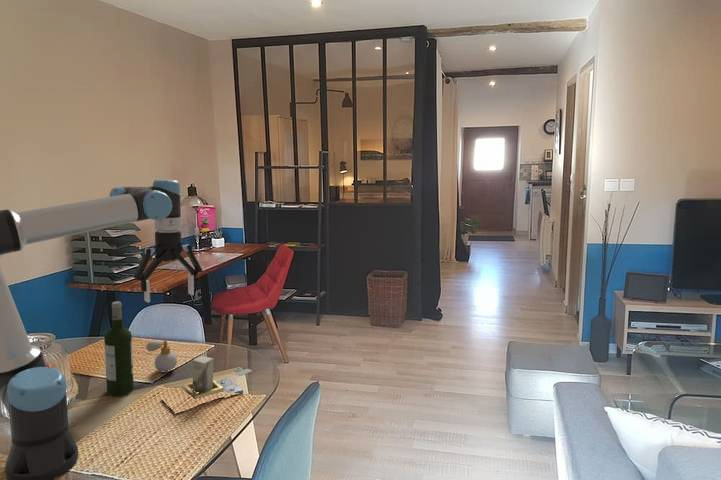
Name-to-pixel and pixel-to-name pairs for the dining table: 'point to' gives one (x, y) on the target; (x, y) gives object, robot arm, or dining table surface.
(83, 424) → the dining table surface
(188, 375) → the dining table surface
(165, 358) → the perfume bottle
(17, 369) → the robot arm
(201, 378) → the box
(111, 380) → the wine bottle
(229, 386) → the square hole socket
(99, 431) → the dining table surface
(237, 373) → the mounting bracket
